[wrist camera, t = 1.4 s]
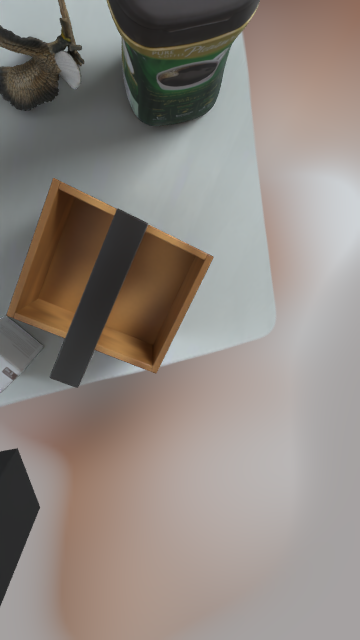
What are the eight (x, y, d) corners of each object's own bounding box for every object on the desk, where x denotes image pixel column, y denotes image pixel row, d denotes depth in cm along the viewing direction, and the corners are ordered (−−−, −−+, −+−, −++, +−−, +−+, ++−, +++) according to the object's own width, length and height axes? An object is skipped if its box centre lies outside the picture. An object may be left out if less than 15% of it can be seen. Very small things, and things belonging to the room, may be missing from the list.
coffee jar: (207, 27, 31) (283, -251, 13) (221, 116, 33) (300, -17, 15) (114, 48, 30) (60, -206, 13) (134, 135, 33) (113, 24, 15)
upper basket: (35, 298, 32) (-44, 344, 19) (75, 188, 30) (13, 157, 16) (155, 346, 35) (157, 416, 22) (201, 251, 32) (234, 266, 19)
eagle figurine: (53, -15, 28) (-47, 9, 26) (66, -18, 23) (-53, 11, 22) (85, 86, 34) (5, 110, 32) (100, 100, 29) (8, 128, 28)
